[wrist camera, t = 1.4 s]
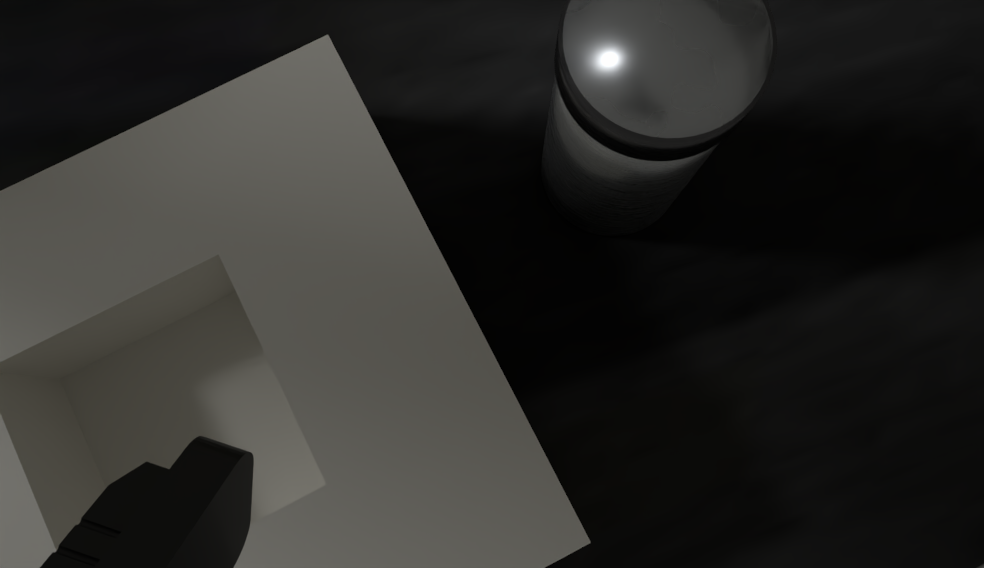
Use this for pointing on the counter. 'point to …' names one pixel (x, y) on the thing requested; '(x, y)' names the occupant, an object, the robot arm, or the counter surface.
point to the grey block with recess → (261, 340)
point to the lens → (647, 101)
